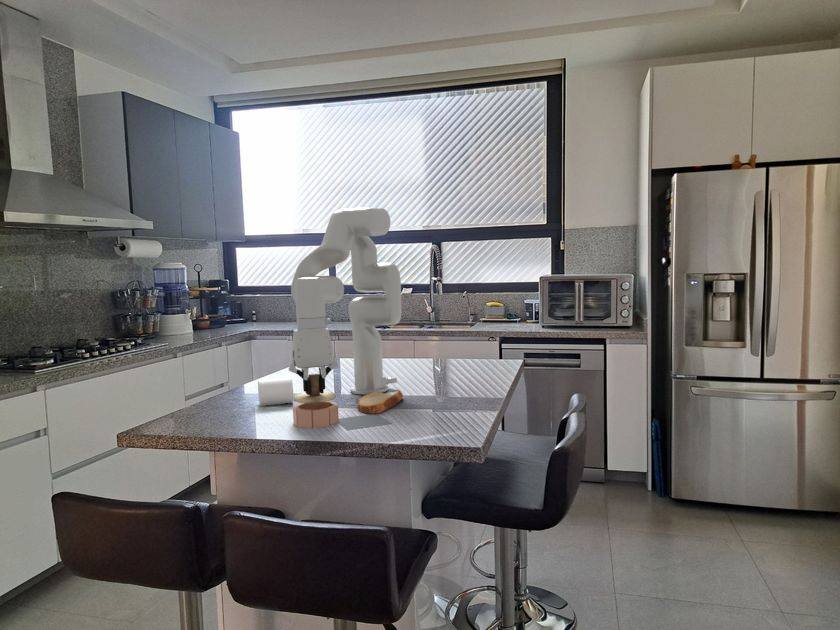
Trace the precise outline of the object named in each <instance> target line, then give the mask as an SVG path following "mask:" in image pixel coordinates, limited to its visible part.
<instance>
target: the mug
mask: <svg viewBox="0 0 840 630" xmlns="http://www.w3.org/2000/svg"><path fill="white" fill-rule="evenodd" d="M293 385H294V384H293V379H292V377H291V376H290V377H281V378H269V379H259V380H257V390H258V392H257V393H258V394H257V395H258V404H259V407H266V406H265V405H269V406H276V405H275V404H278V405H286V404H285V403H288V404H293V403H294V386H293Z"/></svg>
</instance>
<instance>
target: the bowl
mask: <svg viewBox="0 0 840 630" xmlns="http://www.w3.org/2000/svg"><path fill="white" fill-rule="evenodd" d="M292 416H293V417H292V419H293V425H294V426H295V427H296V428H302V429H303V428H304V429H319V428H324V427H325V428H326V427H331V426H333V425H335V424H337V423H338V421H339V419H340V418H339V404H338V403H337V402H335V401H333V400H330V401H326V402H320V403H298V404H295V405H292Z"/></svg>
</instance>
